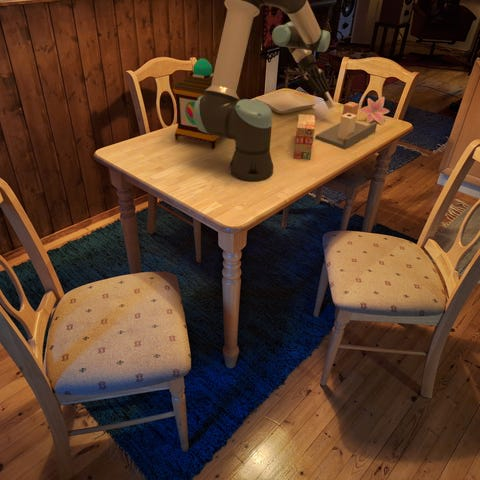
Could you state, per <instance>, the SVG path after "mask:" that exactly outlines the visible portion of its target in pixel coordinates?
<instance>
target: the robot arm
mask: <svg viewBox="0 0 480 480" xmlns="http://www.w3.org/2000/svg"><path fill="white" fill-rule="evenodd" d="M223 3H224V6H225V8H226V9H227V12H226V15H225V16H226V17H225V20H224V26H223V29H222V33H221V34H222V35H221V39H220V43H219V48H218V52H217V56H216V62H215V66H214V70H213V71H214V74H213V78H212V83H211V86H210V87H209V88H207V89H206V90H205V93H204V96H201V97H199V98H198V99H197V101H196V102H195V105H194V111H193V116H194V122H195V124H196V127H197V128H198V129H199V130H200V131H202V132H205V133H208V134H210V135H216V136H220V137H221V138H224V139H229V140H233V141H235V142H234V143H235V146H234V148H235V149H234V152H233V155H232V158H231V160H230V163H229V172H230V175H232V176H233V177H235V178H236V179H239V180H241V181H244V182H245V181H247V182H259V181H265V180H266V179H269V178H271V176H272V175H273V174H274V167H275V166H274V162H273V161H272V160H273V159H272V156H271V151H270V150H271V149H270V148H271V136H272V126H273V110H272V109H270V108H269V106H268V105H266V104H265V103H263V102H260V101H257V100H255V99H248V98H243V99H240V98H239V96H238V94H237V90H238V85H239V80H240V76H241V72H242V68H243V63H244V59H245V55H246V52H247V51H246V50H247V47H248V42H249V37H250V34H251V30H252V26H253V22H254V21H253V20H254V18H255V17H257V16H259V14H260V11H261V7H262V6H267V7H268V6H269V7H275V8H279V9H280V10H281V11H282V13H285V14H286V15H287V16H288V17H289V20H290V21H288V22H287V23H285V24H279V25H277V26H276V27H274V28H273V30H272V34H271V38H272V42H273V43H274V44H275V45H276V46H277V47H282V48H283V47H285V48H288V50H289V52H290V54H291V56H292V57H293V59H294V61H295V62H296V63H297V67H298V68H299V70H300V71H301V72H303V73H304V76H303V77H302V80H303V81H305V82H306V83H307V84H308V86H309V87H310V88H311V89H312V91H313V93H314V94H316V96H318V97H321V98H322V100H323V101H324V103H325V104H326V107H327V108H328V109H329V110H330V109H332V108H333V107H334V106H336V104H335V102H334V100H333V98H332V95H331V94H330V93H329V92H330V90H331V89H330V88H331V87H330V85H329V82H328V79H327V77H326V75H325V70H324V68H319V66H318V65H317V59H316V57H315V55H314V53H313V52H316V53H319V52H321V53H324V52H327V50H328V49H329V46H330V42H331V32H330V31H328V30H324V29H323V30H322V29H321V28H320V26H319V23H318V21H317V19H316V17H315V13H314V12H313V10H312V8H311V5H310V3H309V1H308V0H224V2H223Z"/></svg>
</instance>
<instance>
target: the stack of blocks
mask: <svg viewBox="0 0 480 480" xmlns="http://www.w3.org/2000/svg"><path fill="white" fill-rule="evenodd" d="M315 126H316V116H315V115H314V114H302V113H301V114H300V113H298V119H297V126H296V134H295V144H294V145H295V146H294V151H293V159H294V160H295V159H296V160H308V161H310V160H311V157H312V149H313V143H314V138H315V137H314V136H315V131H316V130H315V129H316V128H315Z"/></svg>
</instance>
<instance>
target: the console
mask: <svg viewBox="0 0 480 480" xmlns="http://www.w3.org/2000/svg"><path fill="white" fill-rule="evenodd" d="M377 125H378V122H377V121H372V122H370V123H369V124H368V125H365V124H363V123H359V122H356V124H355V129H354V133H353V134H351V135H349V136H348V137H346V138H344V140H342V139H339V138H338V132H339V126H340V122H339V123H337V124H335V125H333V126H331V127H329V128H327V129H326V130H323V131H321V132H319V133H318V134H315V135H314V136H315V137H314V139H315V140H317V141H320V142H323V143H325V144H330V145H331V146H334V147H338V148H340V149H342V150H347V149H349V148H350V147H351V146H353V145H355V144H357V143H359V142H360V141H362V140H363V139H366V138H367V137H369V136H371V135H372V134H374V133H375V132H376V129H377Z"/></svg>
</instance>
